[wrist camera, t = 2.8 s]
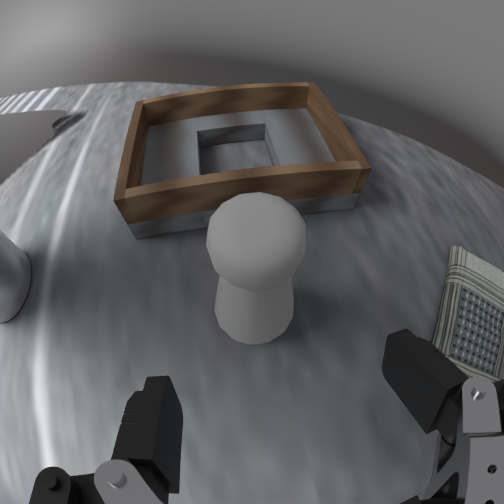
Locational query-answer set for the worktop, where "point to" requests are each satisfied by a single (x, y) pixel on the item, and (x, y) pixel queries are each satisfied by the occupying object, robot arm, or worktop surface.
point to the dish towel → (472, 316)
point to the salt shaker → (255, 264)
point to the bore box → (228, 131)
